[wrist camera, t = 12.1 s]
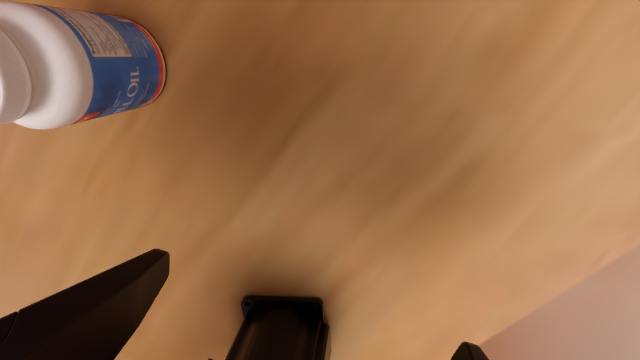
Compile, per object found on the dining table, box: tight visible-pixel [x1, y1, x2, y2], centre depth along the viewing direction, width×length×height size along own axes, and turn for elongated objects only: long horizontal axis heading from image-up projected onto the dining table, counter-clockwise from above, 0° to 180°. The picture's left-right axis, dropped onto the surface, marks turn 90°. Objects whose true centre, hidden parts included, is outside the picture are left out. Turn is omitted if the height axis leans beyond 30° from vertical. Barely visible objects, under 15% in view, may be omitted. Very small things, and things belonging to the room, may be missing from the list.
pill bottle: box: [0, 2, 165, 129], centre depth 16 cm, size 6×5×10 cm
